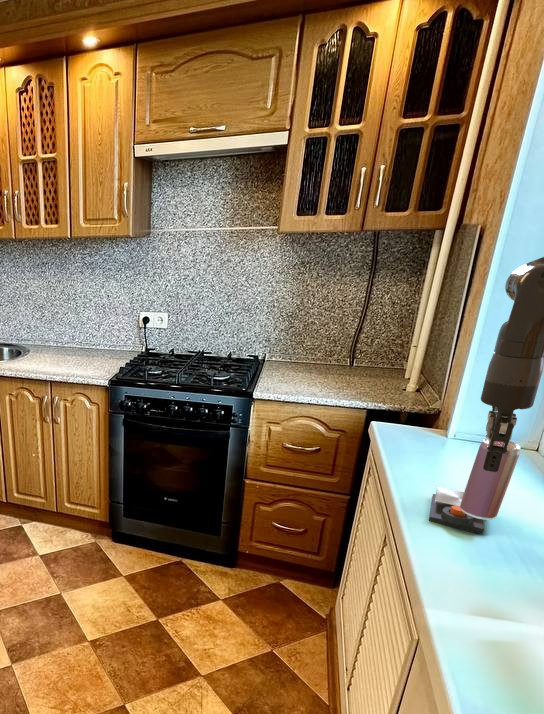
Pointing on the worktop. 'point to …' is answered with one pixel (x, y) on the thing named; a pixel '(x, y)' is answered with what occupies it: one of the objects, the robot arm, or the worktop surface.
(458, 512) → the button
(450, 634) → the worktop surface
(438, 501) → the scale pan
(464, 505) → the beverage can
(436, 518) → the scale
